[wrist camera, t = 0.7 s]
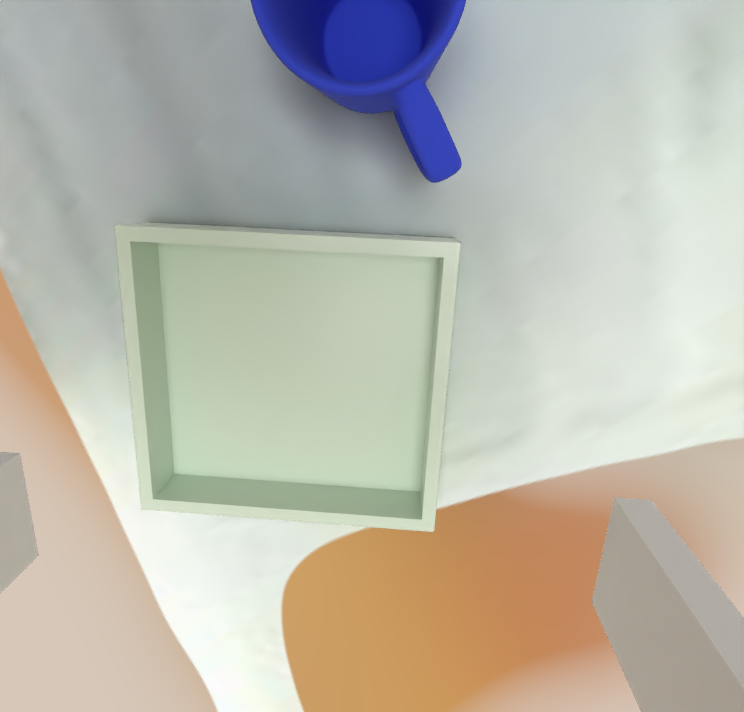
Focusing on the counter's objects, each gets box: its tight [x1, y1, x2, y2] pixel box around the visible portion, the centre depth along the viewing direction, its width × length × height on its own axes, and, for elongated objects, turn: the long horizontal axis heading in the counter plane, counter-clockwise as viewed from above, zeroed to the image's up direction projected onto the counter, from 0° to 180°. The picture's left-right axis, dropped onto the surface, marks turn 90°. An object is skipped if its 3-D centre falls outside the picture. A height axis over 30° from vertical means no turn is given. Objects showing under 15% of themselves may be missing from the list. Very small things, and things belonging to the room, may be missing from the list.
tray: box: [114, 222, 461, 532], centre depth 32 cm, size 18×19×4 cm
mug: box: [251, 0, 466, 183], centre depth 24 cm, size 8×12×10 cm
